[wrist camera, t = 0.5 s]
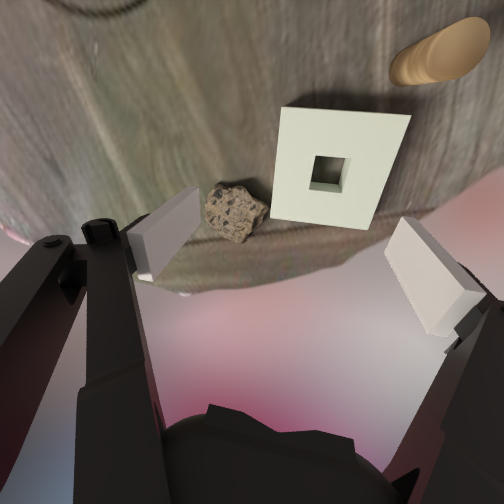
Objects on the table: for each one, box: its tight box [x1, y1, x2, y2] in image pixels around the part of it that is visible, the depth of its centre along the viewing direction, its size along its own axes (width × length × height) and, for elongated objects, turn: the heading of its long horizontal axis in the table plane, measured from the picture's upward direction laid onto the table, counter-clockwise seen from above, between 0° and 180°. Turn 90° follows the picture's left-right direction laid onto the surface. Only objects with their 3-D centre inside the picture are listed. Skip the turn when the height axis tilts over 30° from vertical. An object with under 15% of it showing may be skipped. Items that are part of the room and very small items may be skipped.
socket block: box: [270, 106, 411, 230], centre depth 35 cm, size 16×16×4 cm
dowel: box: [389, 17, 491, 87], centre depth 24 cm, size 4×4×12 cm
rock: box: [205, 183, 269, 244], centre depth 42 cm, size 11×11×4 cm
